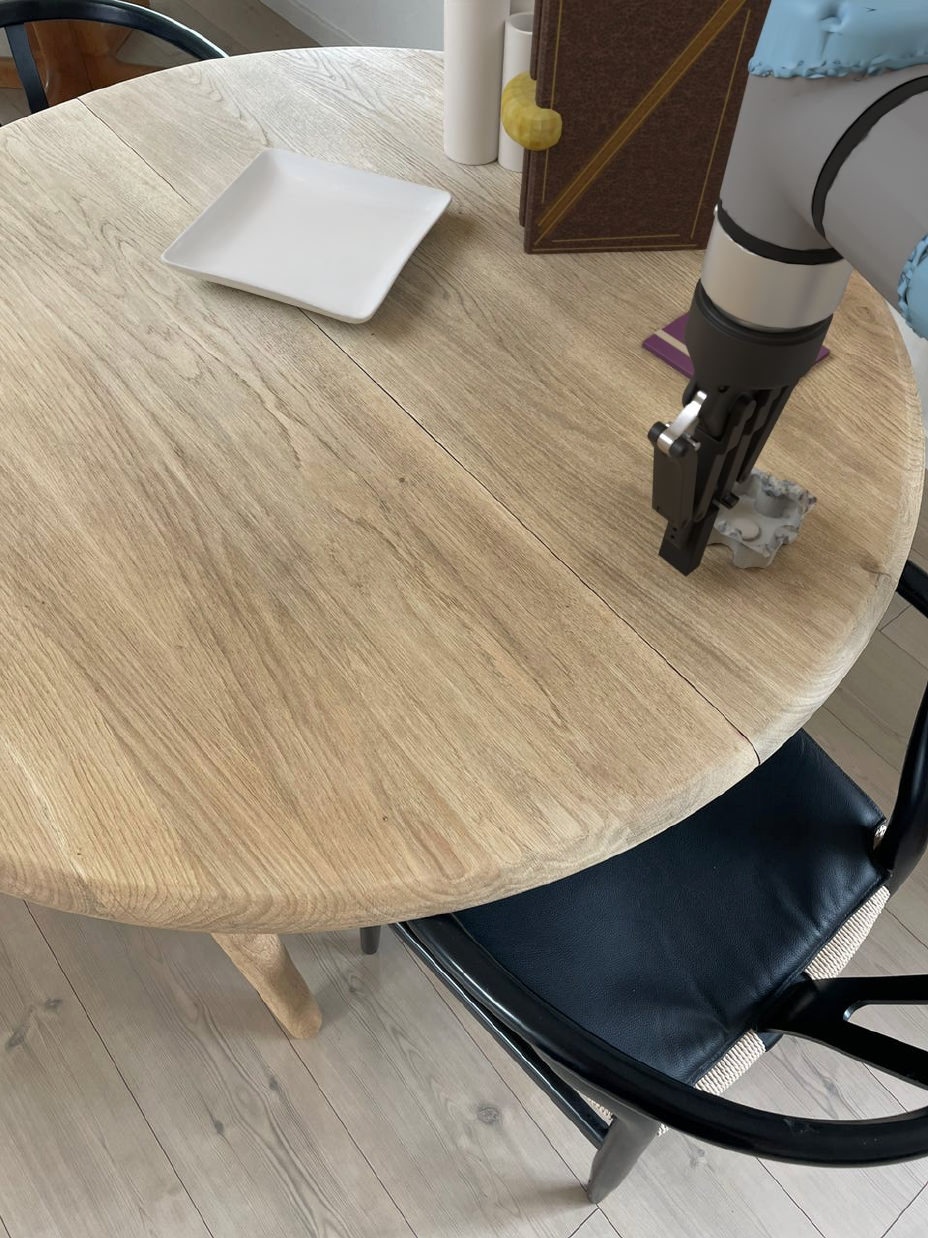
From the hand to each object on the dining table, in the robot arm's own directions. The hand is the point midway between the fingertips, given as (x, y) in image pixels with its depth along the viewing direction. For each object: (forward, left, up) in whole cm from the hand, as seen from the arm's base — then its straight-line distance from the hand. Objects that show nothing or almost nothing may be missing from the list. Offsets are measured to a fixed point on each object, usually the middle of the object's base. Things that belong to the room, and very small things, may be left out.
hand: (678, 560), depth 72 cm
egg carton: (+1, -7, -2) cm, 8 cm away
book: (+33, -28, -2) cm, 43 cm away
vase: (+51, -30, -2) cm, 59 cm away
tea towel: (+13, -24, -2) cm, 27 cm away
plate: (+49, -4, -2) cm, 49 cm away
